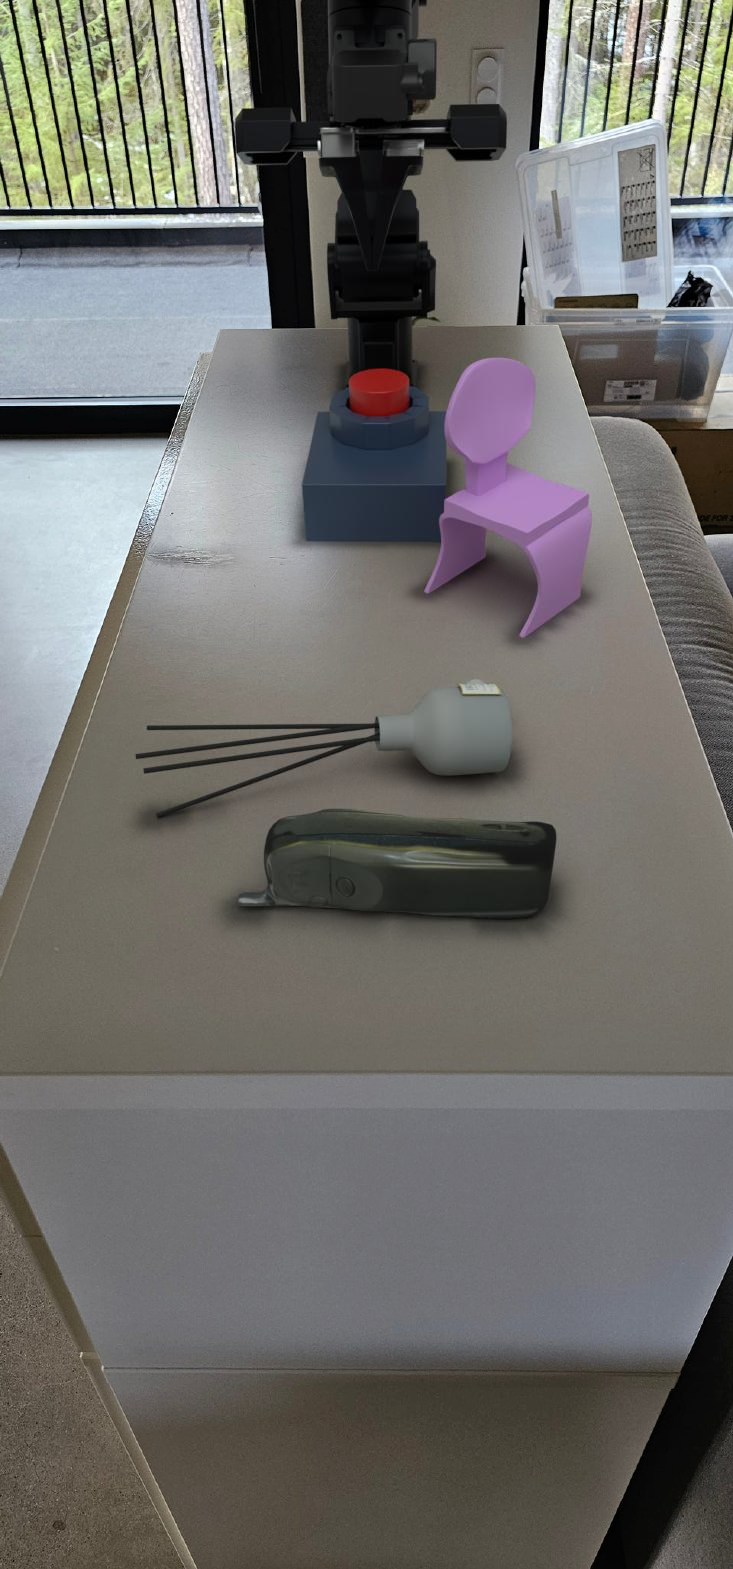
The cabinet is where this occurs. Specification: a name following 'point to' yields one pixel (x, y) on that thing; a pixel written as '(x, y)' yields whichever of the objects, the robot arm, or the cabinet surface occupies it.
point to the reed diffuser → (389, 736)
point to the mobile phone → (407, 864)
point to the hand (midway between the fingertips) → (372, 270)
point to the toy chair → (508, 490)
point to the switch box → (376, 474)
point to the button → (379, 392)
